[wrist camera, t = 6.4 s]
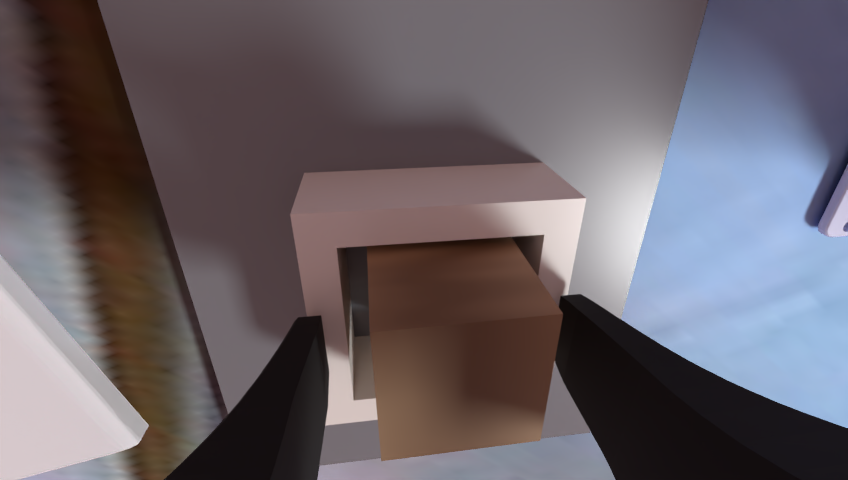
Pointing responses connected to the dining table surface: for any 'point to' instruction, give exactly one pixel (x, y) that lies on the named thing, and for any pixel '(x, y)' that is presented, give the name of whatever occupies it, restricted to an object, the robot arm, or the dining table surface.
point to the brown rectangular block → (459, 345)
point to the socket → (395, 157)
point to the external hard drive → (52, 392)
